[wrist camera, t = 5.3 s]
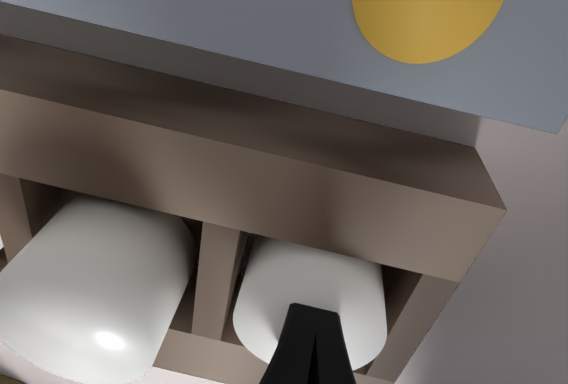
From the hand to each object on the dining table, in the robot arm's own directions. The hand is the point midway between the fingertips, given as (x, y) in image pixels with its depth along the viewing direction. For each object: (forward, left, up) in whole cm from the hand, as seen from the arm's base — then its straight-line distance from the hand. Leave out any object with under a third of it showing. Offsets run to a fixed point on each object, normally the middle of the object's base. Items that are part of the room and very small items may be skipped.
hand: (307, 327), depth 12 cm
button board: (+6, 0, -4) cm, 7 cm away
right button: (0, 0, -3) cm, 3 cm away
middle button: (+6, 0, -2) cm, 6 cm away
